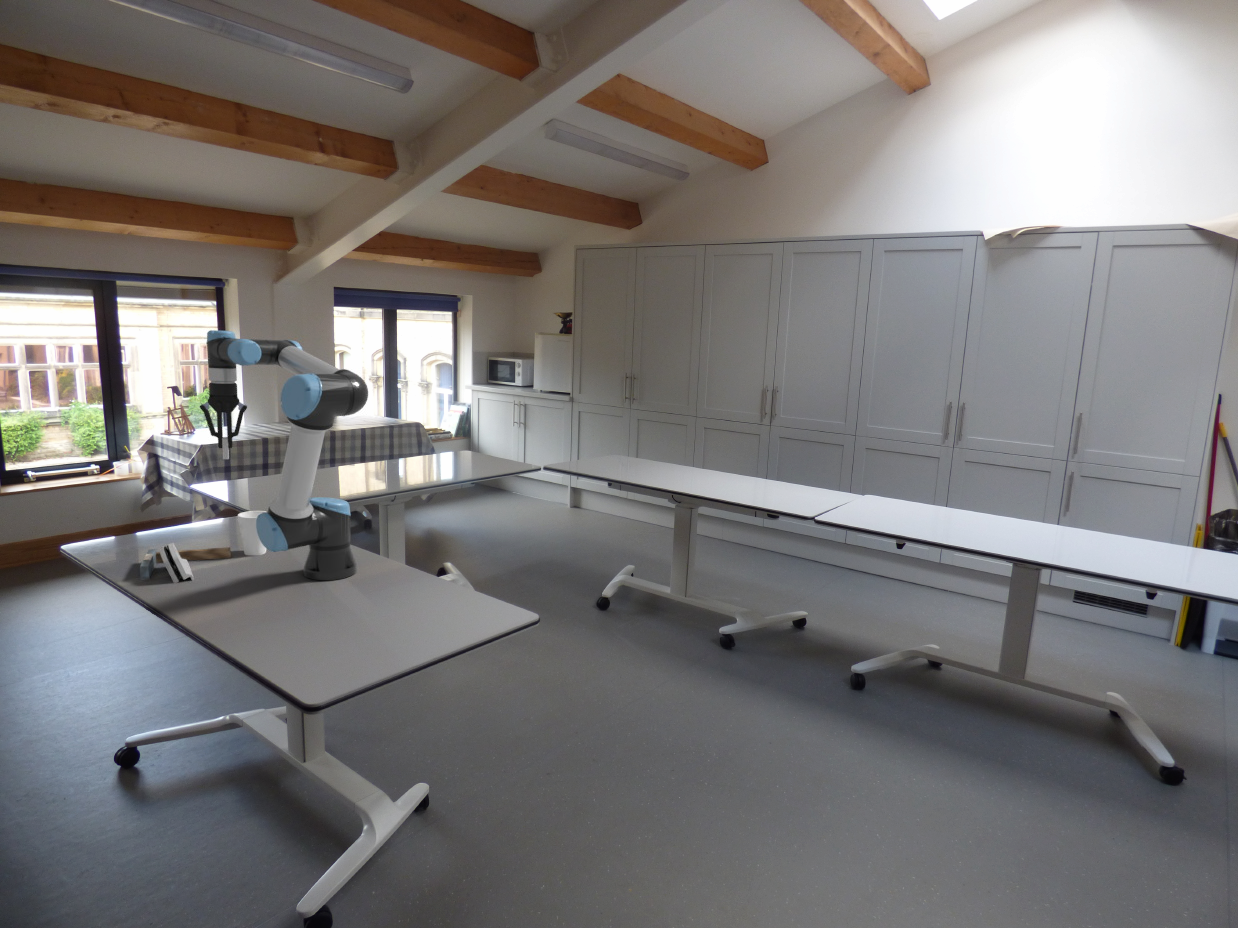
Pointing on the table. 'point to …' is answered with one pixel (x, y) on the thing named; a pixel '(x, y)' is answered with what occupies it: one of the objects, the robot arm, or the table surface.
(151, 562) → the wooden handled mallet
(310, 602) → the table surface
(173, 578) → the white piece
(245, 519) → the foam cup
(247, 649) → the table surface
